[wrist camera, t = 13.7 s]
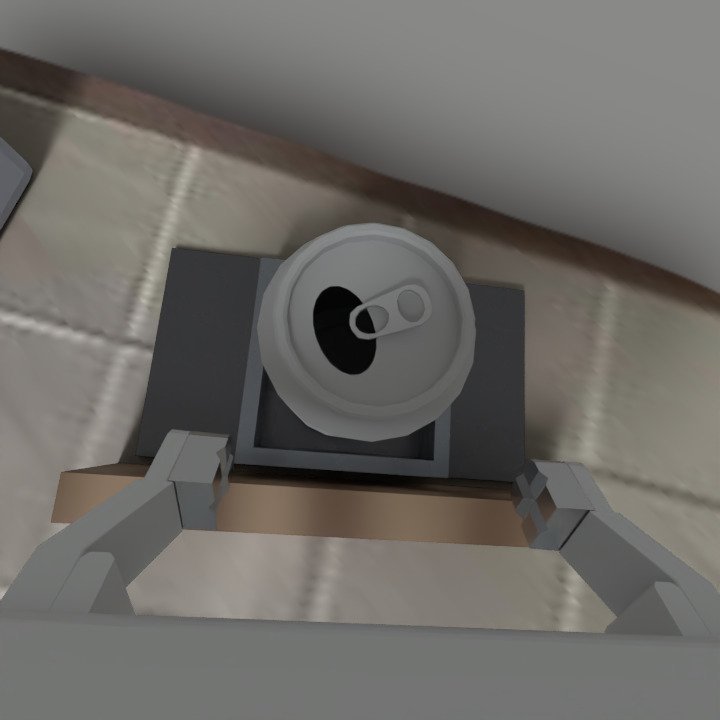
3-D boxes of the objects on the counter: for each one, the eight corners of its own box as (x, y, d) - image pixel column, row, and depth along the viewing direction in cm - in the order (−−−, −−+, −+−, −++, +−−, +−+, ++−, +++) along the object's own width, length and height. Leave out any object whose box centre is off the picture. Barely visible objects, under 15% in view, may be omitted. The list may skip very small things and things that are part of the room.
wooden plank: (536, 491, 24) (593, 506, 19) (536, 526, 24) (595, 550, 19) (117, 463, 22) (61, 471, 17) (110, 501, 21) (50, 522, 16)
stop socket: (521, 292, 26) (551, 272, 23) (520, 481, 24) (554, 489, 21) (174, 250, 24) (152, 222, 21) (138, 455, 22) (107, 459, 19)
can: (264, 332, 24) (217, 232, 12) (383, 297, 25) (448, 175, 13) (302, 456, 23) (293, 481, 11) (424, 413, 24) (535, 394, 12)
